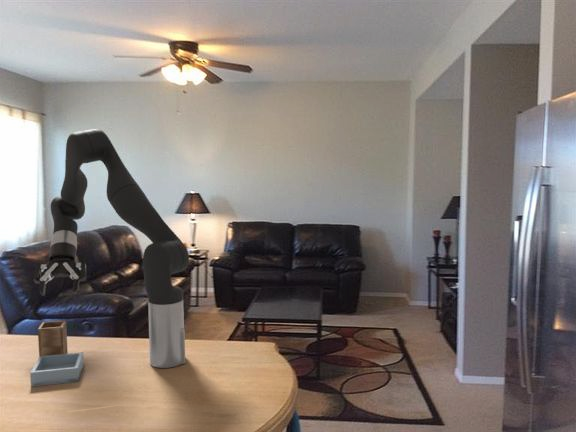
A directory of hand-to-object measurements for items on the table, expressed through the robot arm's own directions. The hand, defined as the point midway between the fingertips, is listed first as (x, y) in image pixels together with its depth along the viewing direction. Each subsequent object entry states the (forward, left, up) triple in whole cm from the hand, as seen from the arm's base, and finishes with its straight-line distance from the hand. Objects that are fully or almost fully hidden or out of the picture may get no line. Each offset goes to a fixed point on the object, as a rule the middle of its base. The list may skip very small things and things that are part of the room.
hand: (58, 293), depth 145 cm
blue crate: (-3, +23, -16) cm, 28 cm away
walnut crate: (0, +12, -16) cm, 20 cm away
